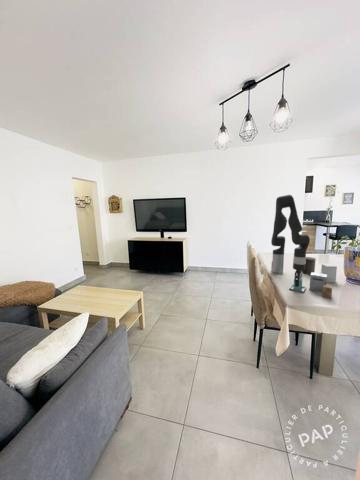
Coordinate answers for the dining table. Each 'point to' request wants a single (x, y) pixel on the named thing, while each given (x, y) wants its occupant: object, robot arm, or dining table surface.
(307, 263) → the pillar candle
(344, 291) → the dining table surface
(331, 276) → the supplement box
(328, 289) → the walnut block
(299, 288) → the teal block
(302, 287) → the tray
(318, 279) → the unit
